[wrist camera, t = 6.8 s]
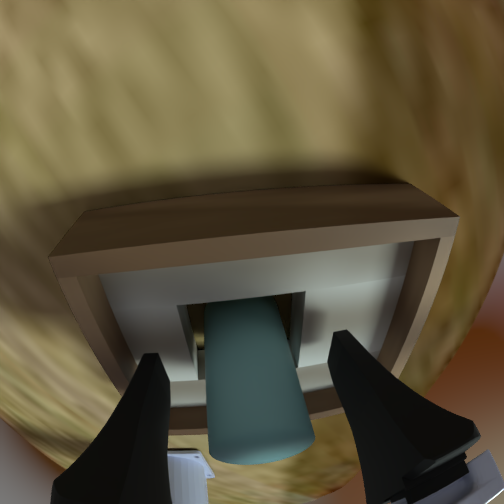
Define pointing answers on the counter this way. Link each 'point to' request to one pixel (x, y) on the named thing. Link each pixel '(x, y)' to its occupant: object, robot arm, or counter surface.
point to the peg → (252, 384)
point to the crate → (256, 278)
